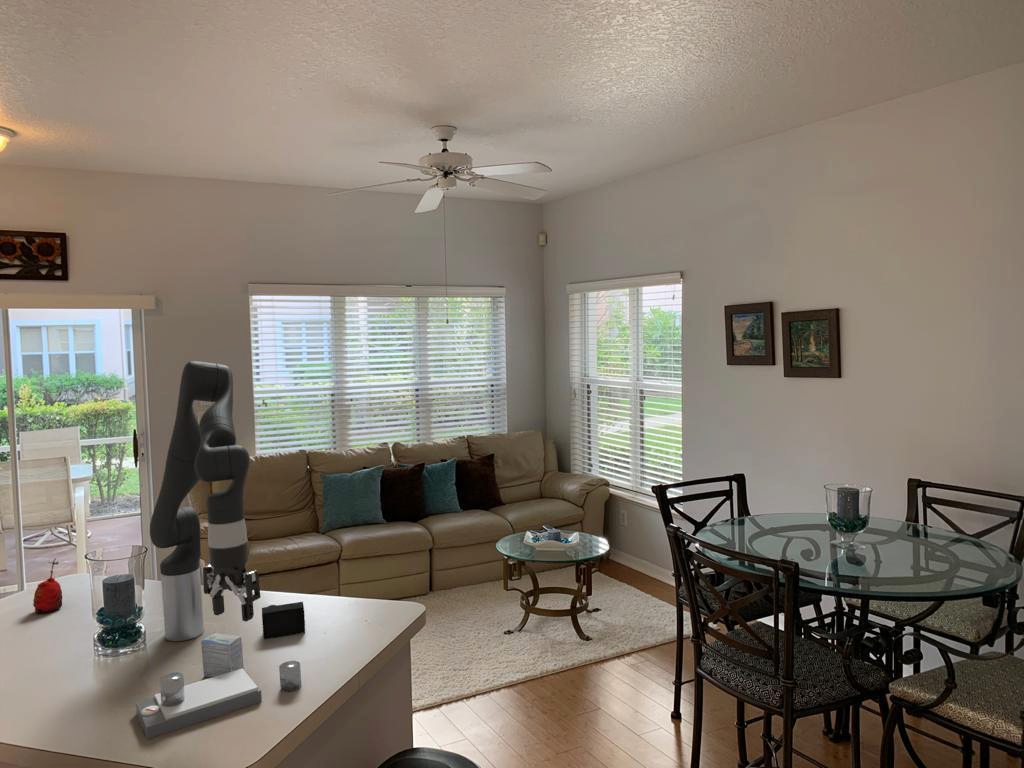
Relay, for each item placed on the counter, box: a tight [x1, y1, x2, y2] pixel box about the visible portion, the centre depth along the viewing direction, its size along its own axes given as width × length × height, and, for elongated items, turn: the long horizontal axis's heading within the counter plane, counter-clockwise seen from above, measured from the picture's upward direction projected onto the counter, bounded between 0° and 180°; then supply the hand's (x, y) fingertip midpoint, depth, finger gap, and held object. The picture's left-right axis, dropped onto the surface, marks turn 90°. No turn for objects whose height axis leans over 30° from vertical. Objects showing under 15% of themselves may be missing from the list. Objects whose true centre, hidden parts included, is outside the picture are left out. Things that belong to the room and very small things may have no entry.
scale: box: [135, 668, 263, 740], centre depth 152 cm, size 12×22×3 cm, turn 126°
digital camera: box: [261, 601, 306, 640], centre depth 188 cm, size 10×5×7 cm, turn 109°
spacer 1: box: [159, 671, 185, 707], centre depth 148 cm, size 4×4×5 cm
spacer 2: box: [278, 660, 302, 693], centre depth 159 cm, size 4×4×5 cm
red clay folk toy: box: [32, 558, 63, 615], centre depth 209 cm, size 8×7×15 cm
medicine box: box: [200, 632, 245, 678], centre depth 166 cm, size 8×4×9 cm, turn 71°
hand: (233, 616), depth 152 cm, fingers open, 8 cm apart
